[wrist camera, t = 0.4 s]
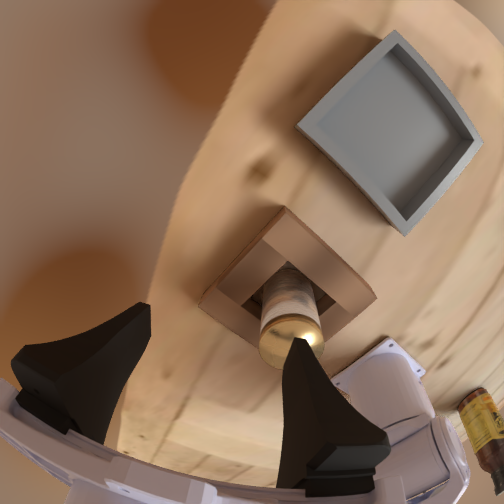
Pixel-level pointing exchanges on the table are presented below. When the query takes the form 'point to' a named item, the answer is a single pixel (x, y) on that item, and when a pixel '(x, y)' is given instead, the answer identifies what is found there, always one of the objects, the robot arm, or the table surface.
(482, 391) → the sauce bottle
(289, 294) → the gold and silver cylinder
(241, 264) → the block
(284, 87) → the table surface
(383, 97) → the tray
